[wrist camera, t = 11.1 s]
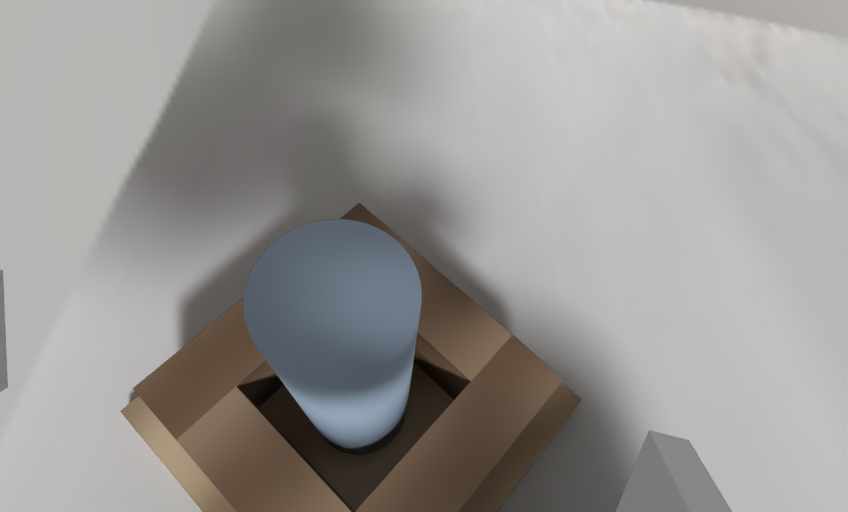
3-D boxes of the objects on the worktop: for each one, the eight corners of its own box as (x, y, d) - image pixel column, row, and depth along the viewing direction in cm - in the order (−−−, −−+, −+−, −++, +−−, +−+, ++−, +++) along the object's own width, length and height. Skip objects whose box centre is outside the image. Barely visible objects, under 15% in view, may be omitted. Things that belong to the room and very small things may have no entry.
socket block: (575, 402, 24) (617, 377, 20) (356, 690, 19) (348, 740, 14) (363, 217, 28) (359, 162, 23) (128, 414, 22) (68, 390, 18)
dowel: (425, 403, 23) (457, 291, 12) (359, 476, 21) (328, 422, 10) (361, 342, 24) (338, 191, 13) (294, 407, 22) (206, 296, 12)
